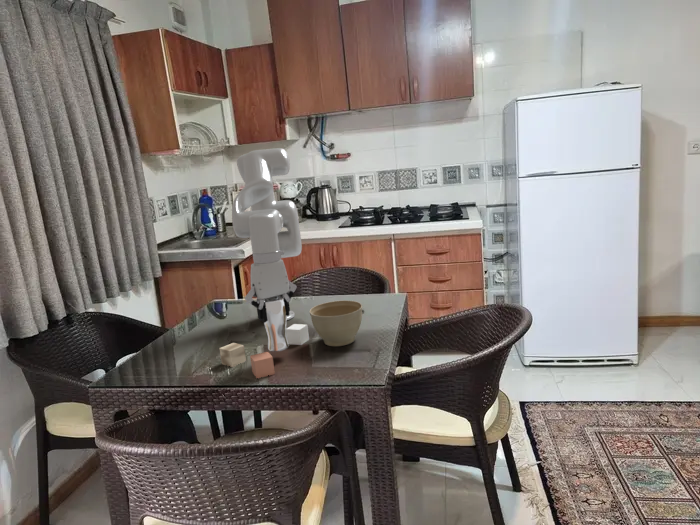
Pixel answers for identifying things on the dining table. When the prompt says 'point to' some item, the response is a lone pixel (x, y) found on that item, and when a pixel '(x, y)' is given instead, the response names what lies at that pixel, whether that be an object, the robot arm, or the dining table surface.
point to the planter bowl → (337, 321)
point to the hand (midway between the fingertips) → (274, 317)
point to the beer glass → (276, 323)
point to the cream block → (297, 334)
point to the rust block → (262, 364)
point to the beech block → (232, 354)
